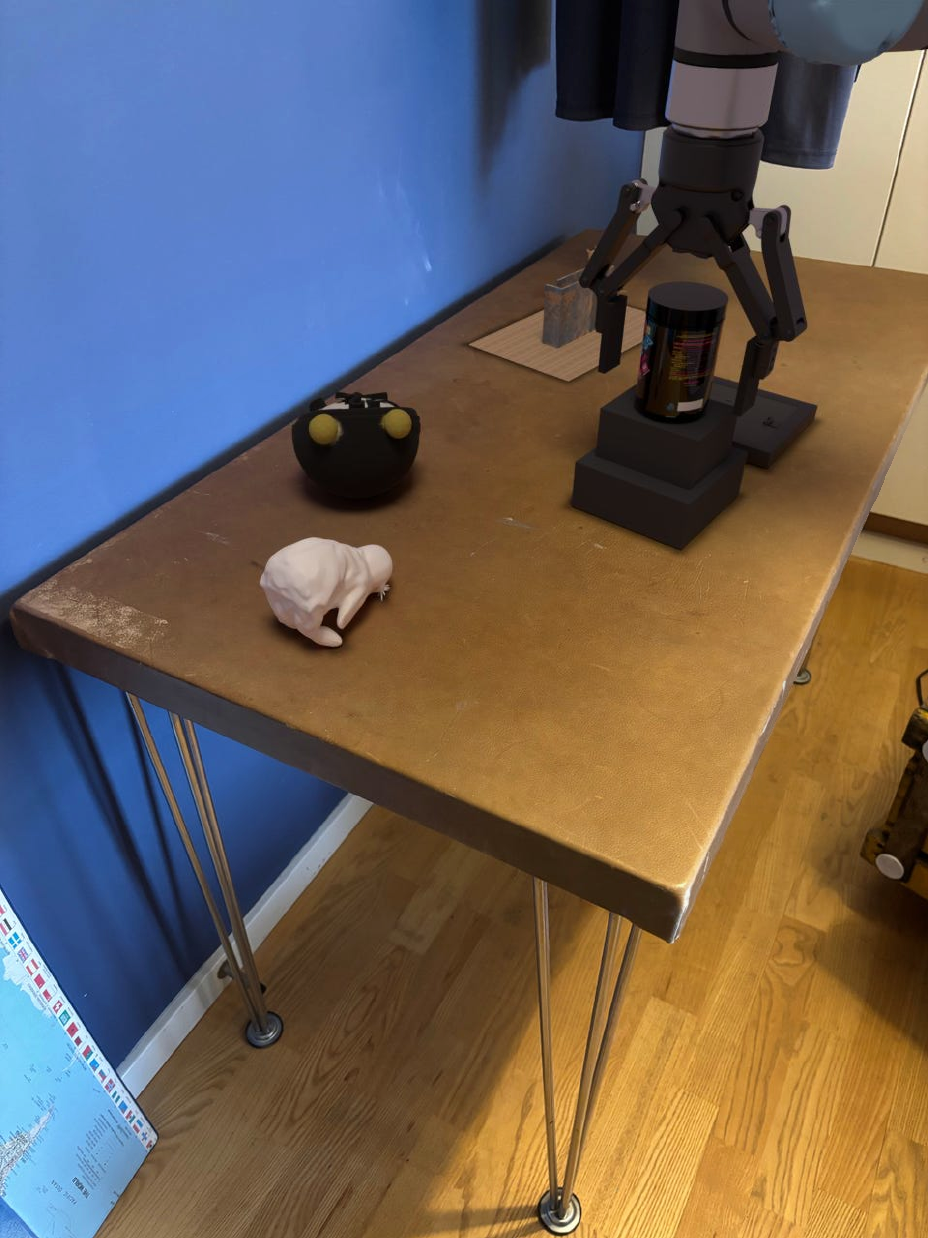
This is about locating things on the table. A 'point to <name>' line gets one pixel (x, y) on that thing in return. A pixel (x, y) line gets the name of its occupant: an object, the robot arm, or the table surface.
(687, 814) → the table surface
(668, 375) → the supplement container
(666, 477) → the top pad
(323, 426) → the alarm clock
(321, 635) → the white clay creature
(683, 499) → the dark rectangular box
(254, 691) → the table surface
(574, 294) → the architectural model on board
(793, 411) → the picture frame
